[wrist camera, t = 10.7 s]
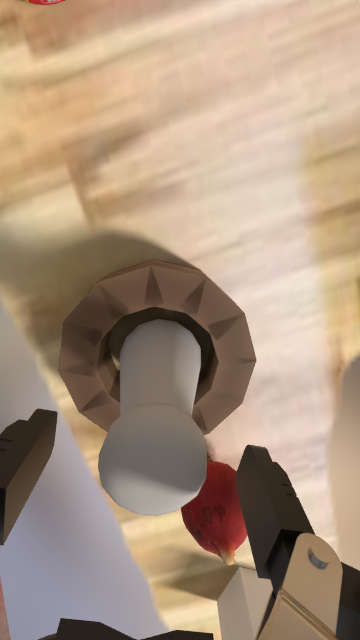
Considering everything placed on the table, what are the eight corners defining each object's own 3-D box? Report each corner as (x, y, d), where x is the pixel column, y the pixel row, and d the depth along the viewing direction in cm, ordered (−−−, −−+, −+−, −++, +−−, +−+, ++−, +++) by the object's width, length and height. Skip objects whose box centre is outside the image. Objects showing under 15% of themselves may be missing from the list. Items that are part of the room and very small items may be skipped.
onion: (171, 484, 27) (172, 584, 19) (189, 435, 25) (197, 523, 18) (228, 495, 28) (251, 597, 20) (250, 448, 26) (283, 539, 18)
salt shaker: (121, 313, 22) (56, 422, 9) (196, 308, 22) (230, 409, 9) (130, 380, 23) (85, 548, 11) (199, 375, 23) (231, 537, 11)
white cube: (216, 599, 32) (226, 679, 27) (239, 565, 31) (254, 641, 25) (263, 610, 33) (282, 690, 27) (287, 577, 32) (313, 654, 26)
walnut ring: (88, 244, 20) (71, 247, 17) (261, 283, 21) (278, 293, 18) (68, 400, 24) (51, 428, 20) (217, 426, 25) (224, 456, 22)
